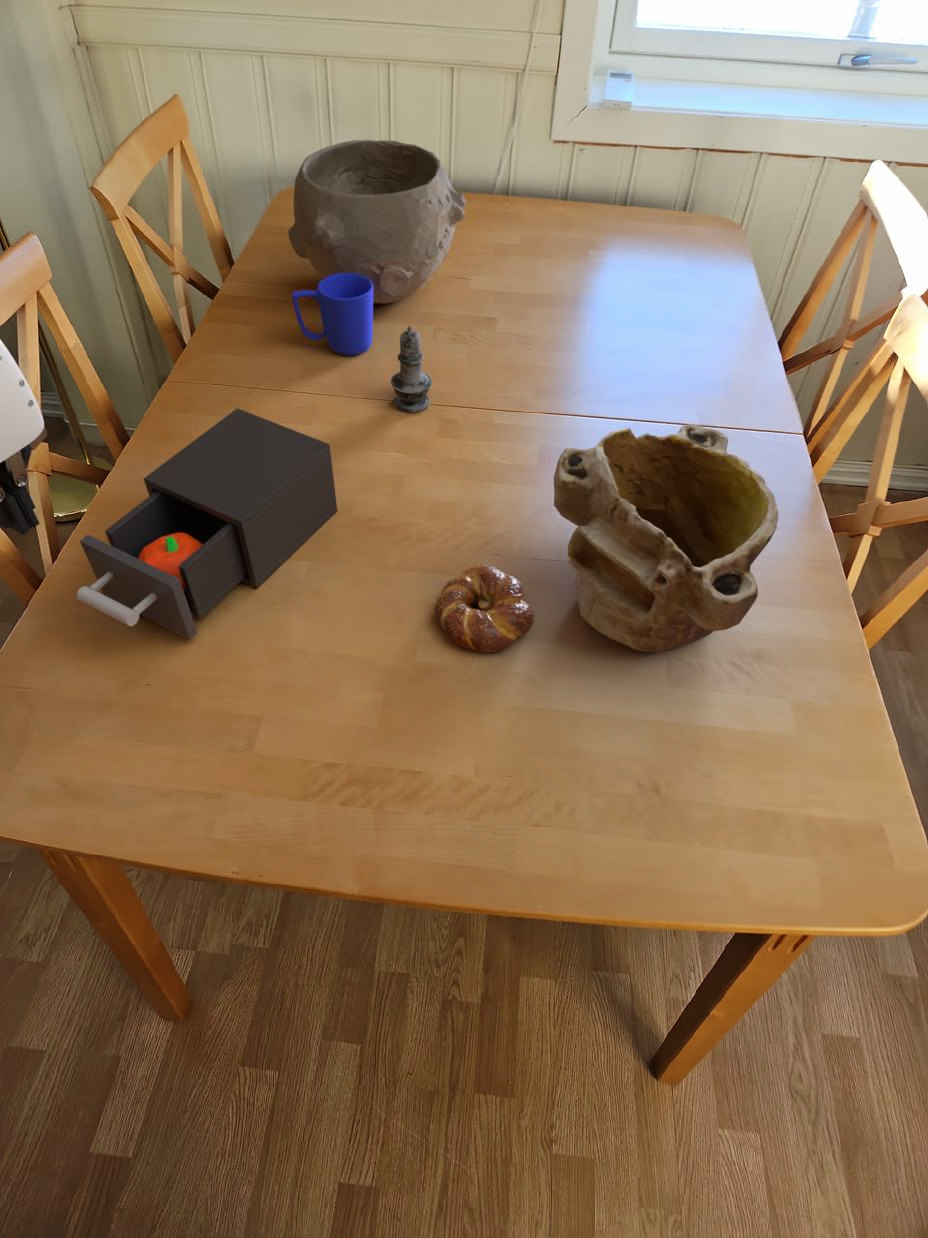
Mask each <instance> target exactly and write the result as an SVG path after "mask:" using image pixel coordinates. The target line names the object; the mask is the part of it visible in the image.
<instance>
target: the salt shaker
mask: <svg viewBox="0 0 928 1238" xmlns="http://www.w3.org/2000/svg"><path fill="white" fill-rule="evenodd" d="M421 345H422V344H421V335H420V333H418V332H417V331H415V330H413V327H412V326H411V325H409V326H408V327H407V330H405V331H403V332H402V333H401V334H400V336H399V349H400V350H399V351H400V352H399V353H398V355H397V360H398V361H399V366H400V367H399V368H400V369H399V371H398V372H396V373H395V374H393V375H392V377H390V385H391V387H392V389H393V391H394V393H395V395H396V396H395V397H394V398H393V405H394V406H393V407H394V408H396V410H398V411H400V412H401V413H406V414H418V413H422V412H424V411H425V410H427V409H428V408H429V407H430V405H431V400H430V398H429V396H427V395H428V394H429V391H430V388H431V386H432V384H433V379H432V377H431V376H430V375H429V374H428V373H426V372H425V371H423V370H422V361H423V360H424V354H423V353H422V352H421V351H422V349H421V347H422V346H421Z"/></svg>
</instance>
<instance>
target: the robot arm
mask: <svg viewBox="0 0 928 1238" xmlns="http://www.w3.org/2000/svg"><path fill="white" fill-rule="evenodd" d="M47 436H48V431H47V429H46V427H45V421H44V417H43V414H42V411H41V409H40V405H39V403H38V401H37V399H36V397H35V395H34V393H33V391H32V389H31V387H30V385H29V383H28V381H27V379H26V377H25V376H24V374H23V372H22V371H21V368H20V367H19V365H18V364H17V362H16V360H15V359H14V357H13V356H12V354H11V353H10V351H9V349H8V348H7V346H6V345H5V343H4V341H2V339H0V528H2V529H5V530H7V529H8V528H9V529H11V530H13V531H14V532H17V533H18V534H21V535H23V536H25V535H27V534H28V533H29V532H30V529H31V528H33V529H34V528H36V527H37V526H39V525H40V520H39V519H38V517H37V515H36V513H35V509H36V504H35V503H34V501H33V498H32V496H31V495H30V493H29V491H28V489H27V487H26V485H27V484H28V482H29V475H28V472H27V468H28V465H29V462H30V459H31V455H32V451H35V450H36V449H37V447H39V446H40V444H42V442H44V440H45V439H47Z"/></svg>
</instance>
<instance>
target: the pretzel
mask: <svg viewBox="0 0 928 1238" xmlns="http://www.w3.org/2000/svg"><path fill="white" fill-rule="evenodd" d="M524 595H525V593H524V587H523V585H522V583H521V581H520V580H518V579H517V578H516V577H515V576H513V575H510V574H507V573H504V572H502V571H501V570H500V569H498V568H496V567H494V566H492V565H487V564H479V565H474V566H471V567H469V568H467V569H466V570H465V571H463V572H462V573H460V574H459V575H458V576H456V577H454V578H452V579H450V580H449V581H448V582H446V583H445V585H444V586H443V589H442V590H441V592H440V597H438V599H437V600H436V602H435V605H434V616H435V618H436V621H437V623H438V624H439V626H440V627H441V628H442V630H444V632H445V634H446V636H447V638H449V640H451V641H452V643H454V644H456V645H458V646H459V647H463V648H465V649H469V650H475V651H478V652H481V653H498V652H502V651H505V650H507V649H508V648H510V646H511V645H512V644H513V643H514V642H515V641H516V640H517V638H518V637H523V636H524V635H526V634H527V633H528V632H529V631H530V630H531V629H532V627H533V625H534V623H535V614H534V611H533V609H532V607H531V605H530V604H529V603H527V602H525V601H524V600H523V598H524ZM474 607H476V608H474Z"/></svg>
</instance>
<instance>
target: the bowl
mask: <svg viewBox="0 0 928 1238" xmlns="http://www.w3.org/2000/svg"><path fill="white" fill-rule="evenodd" d="M466 203H467V200H466V198H465V195H464V193H461V192H458V191H456V190H455V189H454V187H453V186H452V183H451V181H450V178H449V175H448V173H447V171H446V169H445V167H444V165H443V163H442V161H441V160H440V159H439V158H438V157H437V156H436V154H434V152H432V151H430V150H428V149H425V148H424V147H422V146H419V145H416V144H411V143H404V142H401V141H397V140H383V139H382V140H374V139H373V140H371V139H358V140H357V139H355V140H354V139H353V140H349V141H342V142H339V143H336V144H335V143H334V144H332V145H329V146H326V147H323V148H321V149H318V150H316V151H315V152H313V153H311V154H310V155H308V156H307V157H305V158H304V160H303V162H302V163H301V165H300V168H299V169H298V172H297V175H296V177H295V180H294V189H293V215H294V216H293V217H294V223H293V225H292V226H291V227H290V228H288V230H287V233H288V239H289V241H290V244H291V247H292V249H293V251H294V252H295V253H296V255H297V256H298V257H300V258H301V259H308V261H309V262H310V263H309V264H311V266H312V268H314V270H315V271H316V272H317V274H318V275H319V277H320V278H321V280H322V279H324V278H326V277H328V276H330V275H334V274H338V273H354V274H359V275H362V276H365V277H367V278H368V279H370V280H371V282H372V283H373V304H379V303H381V304H388V303H396V302H399V301H402V300H405V299H408V298H410V297H411V296H413V295H415V294H416V293H417V292H419V291H420V290H421V289H423V287H424V286H425V285H426V284H428V283H429V282H430V280H431V279H432V277H433V276H434V275H435V273H436V272H437V271H438V269H440V268H441V266H442V264H443V262H444V260H445V259H446V257H447V255H448V252H449V250H450V249H451V244H452V241H453V237H454V234H455V231H456V230H455V229H456V228H457V225H458V223H459V222H460V221H463V220H465V218H466V213H465V210H464V208H465V207H466ZM407 297H408V298H407ZM381 304H380V305H381Z"/></svg>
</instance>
